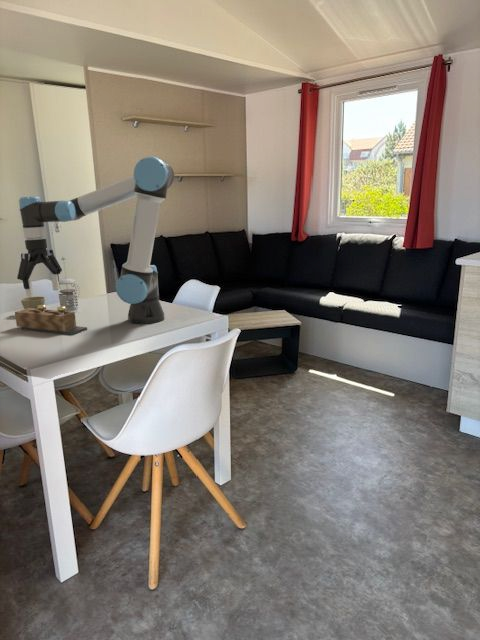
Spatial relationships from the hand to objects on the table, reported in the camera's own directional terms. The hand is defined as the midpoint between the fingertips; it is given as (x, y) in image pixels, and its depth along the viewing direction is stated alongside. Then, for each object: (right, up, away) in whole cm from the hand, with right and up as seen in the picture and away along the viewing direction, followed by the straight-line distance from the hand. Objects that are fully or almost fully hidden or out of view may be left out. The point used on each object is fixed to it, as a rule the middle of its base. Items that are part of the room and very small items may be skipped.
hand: (43, 293), depth 182 cm
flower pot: (-17, -8, +30) cm, 36 cm away
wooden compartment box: (0, -13, +3) cm, 13 cm away
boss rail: (+3, -14, +2) cm, 15 cm away
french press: (-2, -6, +35) cm, 35 cm away
